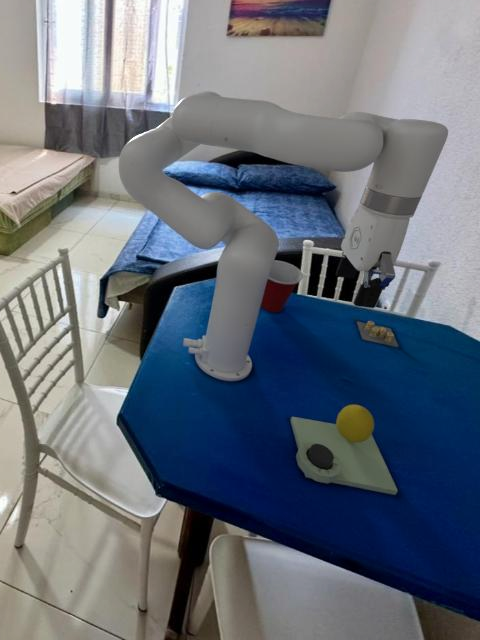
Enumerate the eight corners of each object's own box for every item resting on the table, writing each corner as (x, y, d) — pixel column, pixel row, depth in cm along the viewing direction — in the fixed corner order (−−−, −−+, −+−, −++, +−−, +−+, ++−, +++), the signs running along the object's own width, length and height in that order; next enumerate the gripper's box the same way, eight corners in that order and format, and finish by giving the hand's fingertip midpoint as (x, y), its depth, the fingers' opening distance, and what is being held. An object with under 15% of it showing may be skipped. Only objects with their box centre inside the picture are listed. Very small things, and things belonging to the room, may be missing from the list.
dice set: (391, 342, 101) (394, 336, 100) (368, 337, 103) (371, 331, 102) (386, 330, 106) (389, 324, 105) (364, 326, 107) (367, 320, 106)
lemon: (369, 454, 72) (386, 424, 68) (336, 448, 73) (350, 417, 69) (358, 429, 77) (373, 399, 73) (327, 423, 78) (340, 393, 74)
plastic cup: (254, 315, 110) (264, 278, 104) (247, 294, 119) (256, 258, 113) (296, 320, 108) (309, 282, 102) (286, 298, 118) (297, 262, 112)
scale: (299, 482, 68) (304, 471, 67) (283, 419, 80) (287, 408, 78) (398, 502, 66) (406, 491, 64) (367, 434, 77) (373, 423, 76)
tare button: (310, 467, 68) (313, 460, 67) (305, 448, 71) (308, 441, 70) (333, 471, 67) (336, 464, 67) (327, 452, 71) (330, 445, 70)
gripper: (345, 182, 73) (318, 265, 81) (385, 219, 58) (347, 315, 66) (391, 186, 72) (358, 269, 80) (444, 224, 57) (397, 322, 65)
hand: (353, 290), depth 73 cm, fingers open, 9 cm apart
